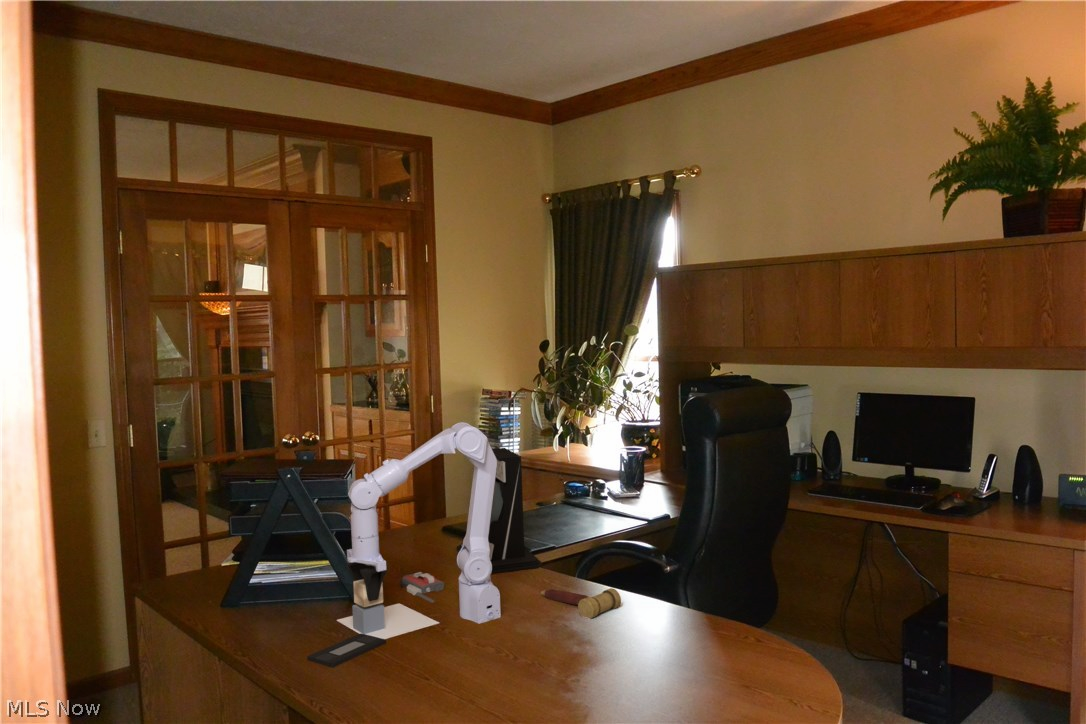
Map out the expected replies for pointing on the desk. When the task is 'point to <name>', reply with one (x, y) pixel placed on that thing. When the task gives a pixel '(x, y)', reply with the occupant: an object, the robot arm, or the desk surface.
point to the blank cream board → (396, 621)
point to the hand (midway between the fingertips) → (367, 597)
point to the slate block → (368, 618)
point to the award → (508, 517)
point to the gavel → (587, 601)
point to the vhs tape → (346, 650)
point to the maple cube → (365, 594)
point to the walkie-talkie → (421, 584)
